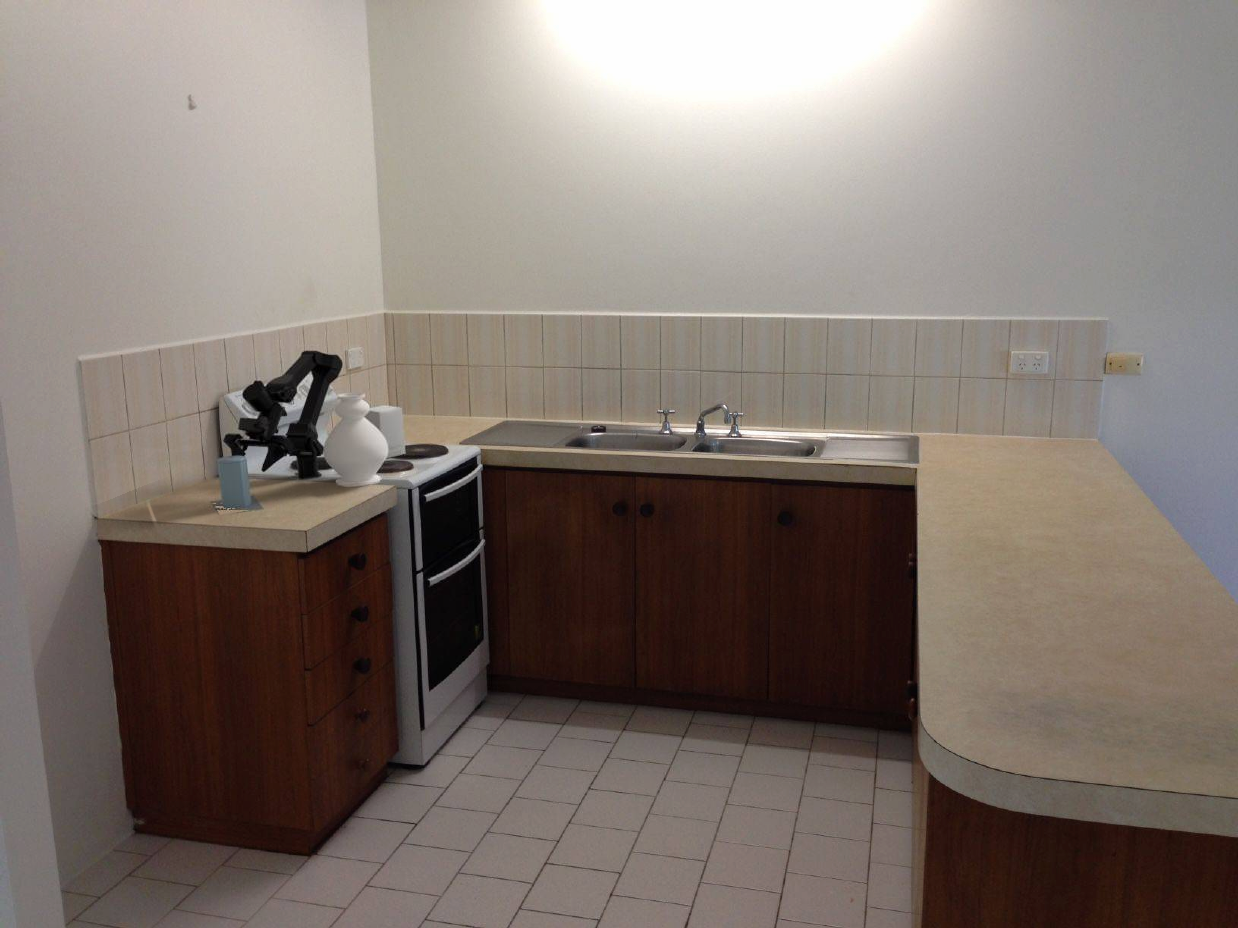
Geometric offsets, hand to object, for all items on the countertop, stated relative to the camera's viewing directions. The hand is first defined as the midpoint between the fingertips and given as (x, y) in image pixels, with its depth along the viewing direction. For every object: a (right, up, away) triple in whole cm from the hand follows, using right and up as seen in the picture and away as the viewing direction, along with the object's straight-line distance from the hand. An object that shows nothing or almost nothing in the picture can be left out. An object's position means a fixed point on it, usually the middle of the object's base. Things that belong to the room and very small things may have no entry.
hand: (247, 470), depth 290 cm
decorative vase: (+25, -3, +19) cm, 32 cm away
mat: (-2, -9, -4) cm, 10 cm away
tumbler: (-2, -9, -4) cm, 10 cm away
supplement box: (+26, +4, +51) cm, 58 cm away
